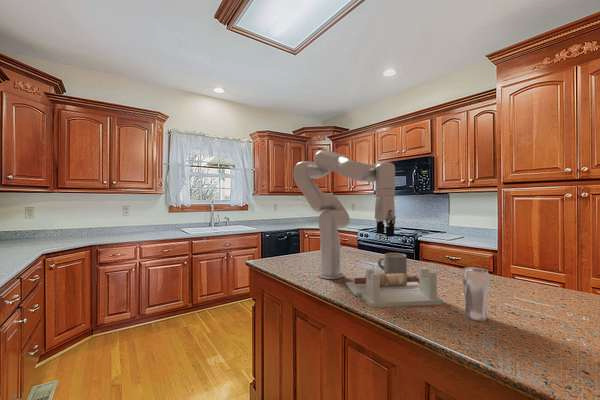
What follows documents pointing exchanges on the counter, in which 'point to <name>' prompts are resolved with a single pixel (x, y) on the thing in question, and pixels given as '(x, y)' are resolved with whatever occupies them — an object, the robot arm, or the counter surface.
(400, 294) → the pin stand
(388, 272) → the coffee mug
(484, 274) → the beer glass
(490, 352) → the counter surface
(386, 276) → the rolling pin
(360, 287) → the pastry board
